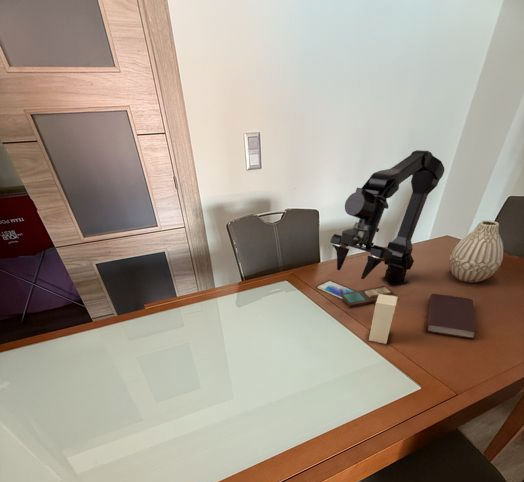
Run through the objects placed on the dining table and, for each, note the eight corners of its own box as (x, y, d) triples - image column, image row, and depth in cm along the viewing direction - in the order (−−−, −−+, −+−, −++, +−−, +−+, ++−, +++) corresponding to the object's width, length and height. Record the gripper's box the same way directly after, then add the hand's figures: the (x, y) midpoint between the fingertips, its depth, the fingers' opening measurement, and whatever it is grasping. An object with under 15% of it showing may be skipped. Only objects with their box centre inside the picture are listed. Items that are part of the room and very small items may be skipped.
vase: (467, 265, 121) (488, 212, 109) (503, 282, 110) (530, 225, 97) (434, 273, 118) (451, 220, 106) (467, 291, 107) (490, 234, 94)
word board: (383, 288, 112) (383, 284, 111) (394, 299, 106) (395, 294, 105) (340, 296, 110) (340, 292, 109) (349, 307, 104) (350, 303, 103)
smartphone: (329, 280, 120) (361, 293, 110) (329, 282, 120) (360, 295, 111) (316, 286, 116) (348, 300, 107) (316, 288, 117) (348, 302, 107)
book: (424, 331, 91) (428, 323, 89) (428, 300, 104) (431, 291, 102) (473, 340, 86) (477, 331, 84) (470, 306, 99) (474, 297, 97)
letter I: (371, 330, 93) (378, 293, 85) (388, 334, 91) (397, 296, 83) (368, 340, 90) (376, 302, 82) (386, 343, 88) (395, 305, 80)
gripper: (328, 210, 88) (311, 264, 95) (384, 223, 77) (361, 283, 83) (348, 217, 96) (332, 266, 102) (403, 230, 84) (380, 284, 91)
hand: (350, 274), depth 94 cm, fingers open, 9 cm apart
